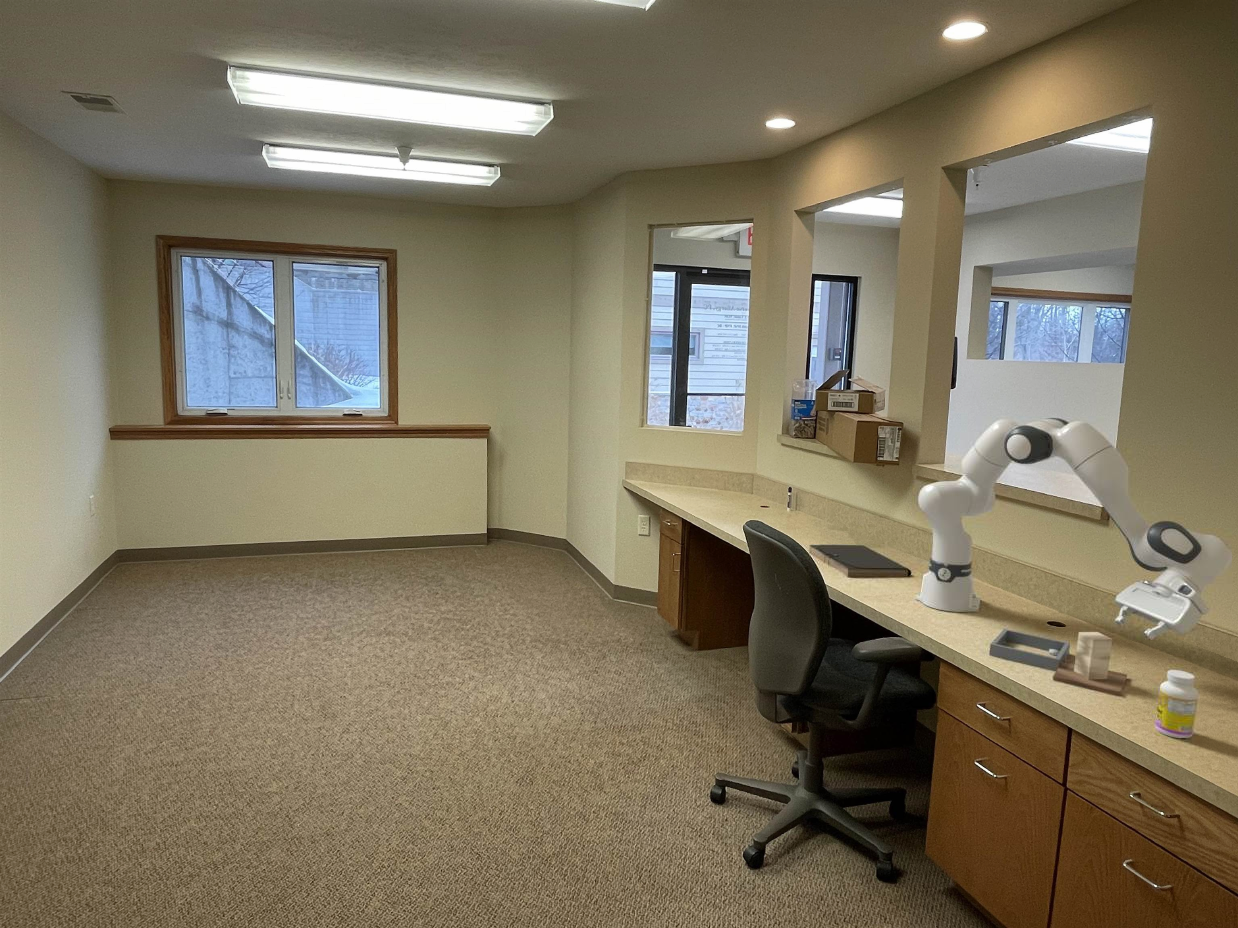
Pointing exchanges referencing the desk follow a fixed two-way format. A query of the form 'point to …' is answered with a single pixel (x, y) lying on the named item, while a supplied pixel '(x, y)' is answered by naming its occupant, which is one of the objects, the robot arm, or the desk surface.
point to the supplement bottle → (1177, 705)
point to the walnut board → (1108, 685)
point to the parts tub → (1043, 661)
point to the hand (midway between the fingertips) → (1132, 629)
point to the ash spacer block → (1093, 655)
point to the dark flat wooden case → (858, 561)
